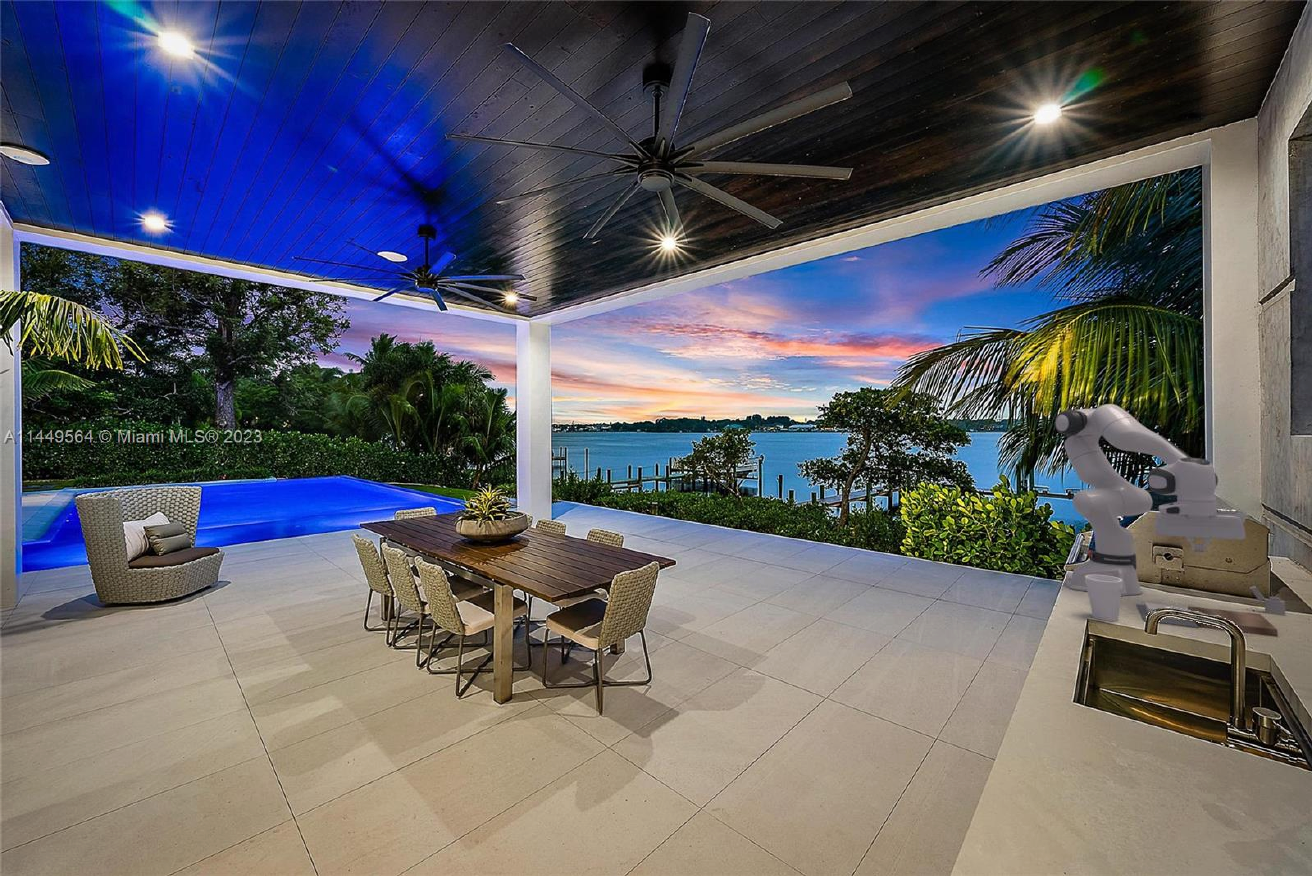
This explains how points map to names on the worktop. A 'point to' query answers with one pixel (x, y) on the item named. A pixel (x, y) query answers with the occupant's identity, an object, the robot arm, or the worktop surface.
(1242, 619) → the plate
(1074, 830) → the worktop surface
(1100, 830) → the worktop surface
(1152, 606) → the tile
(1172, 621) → the mat
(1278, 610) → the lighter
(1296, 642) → the worktop surface
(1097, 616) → the foam cup
